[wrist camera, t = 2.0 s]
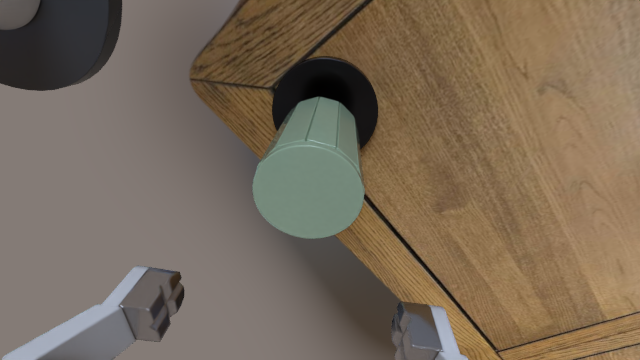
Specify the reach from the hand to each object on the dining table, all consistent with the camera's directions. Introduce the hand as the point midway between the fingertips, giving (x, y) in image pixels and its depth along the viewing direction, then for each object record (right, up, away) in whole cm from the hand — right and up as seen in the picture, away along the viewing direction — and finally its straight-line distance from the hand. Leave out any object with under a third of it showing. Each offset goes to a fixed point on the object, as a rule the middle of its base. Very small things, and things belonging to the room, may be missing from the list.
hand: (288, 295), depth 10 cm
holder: (+2, +12, +20) cm, 23 cm away
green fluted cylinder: (+1, +8, +14) cm, 16 cm away
